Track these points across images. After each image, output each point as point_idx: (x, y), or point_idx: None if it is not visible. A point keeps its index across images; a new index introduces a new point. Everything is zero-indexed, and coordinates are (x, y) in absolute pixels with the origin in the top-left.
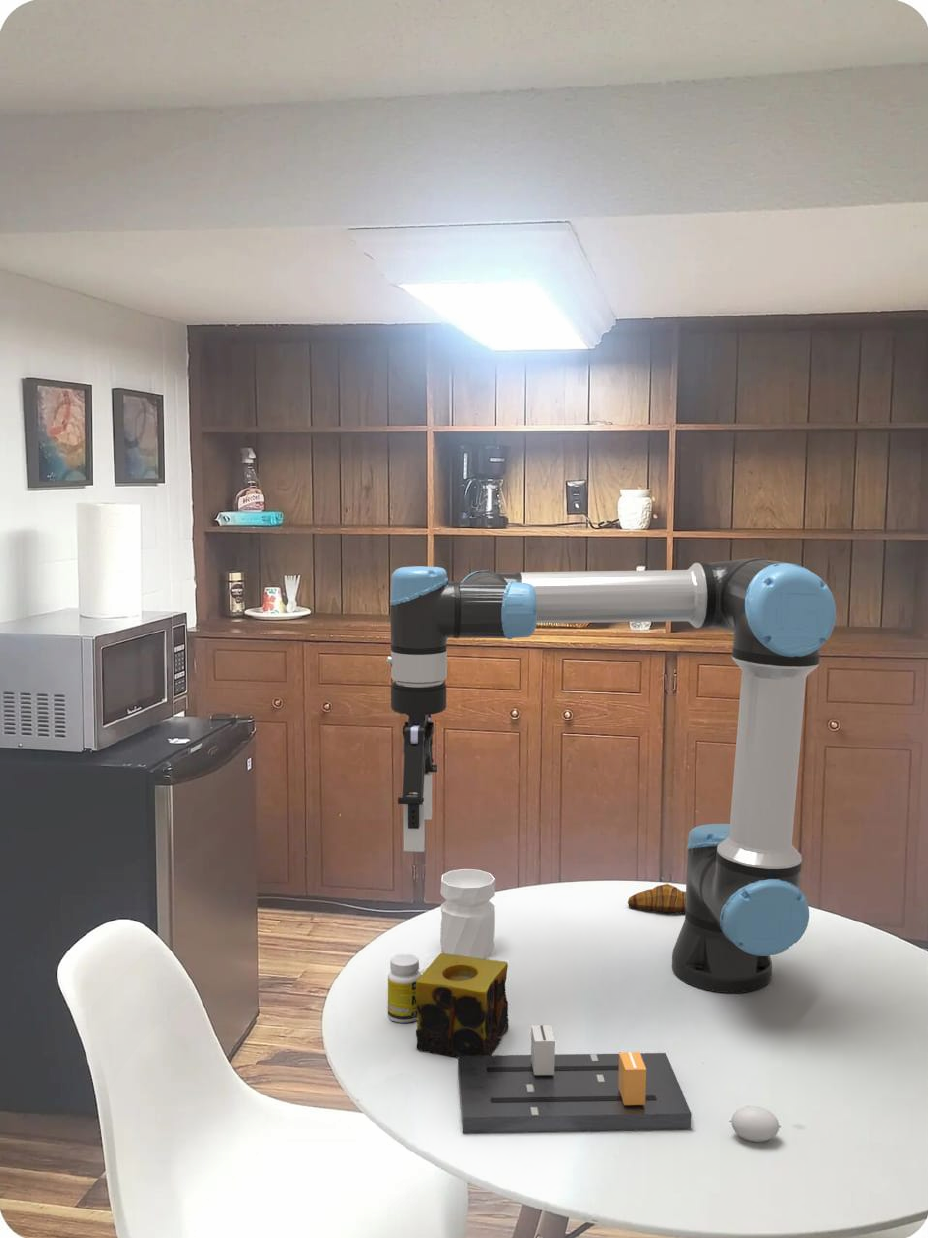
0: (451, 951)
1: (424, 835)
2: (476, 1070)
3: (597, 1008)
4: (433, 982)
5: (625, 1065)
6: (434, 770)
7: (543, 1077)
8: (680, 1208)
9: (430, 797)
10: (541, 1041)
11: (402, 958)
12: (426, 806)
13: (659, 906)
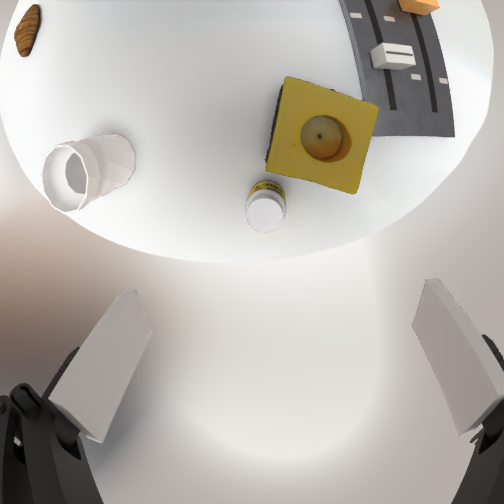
0: (129, 173)
1: (451, 306)
2: (395, 119)
3: (220, 13)
4: (359, 172)
5: (433, 4)
6: (27, 392)
7: None
8: (481, 25)
9: (104, 341)
10: (414, 58)
11: (262, 218)
12: (123, 330)
13: (35, 27)
